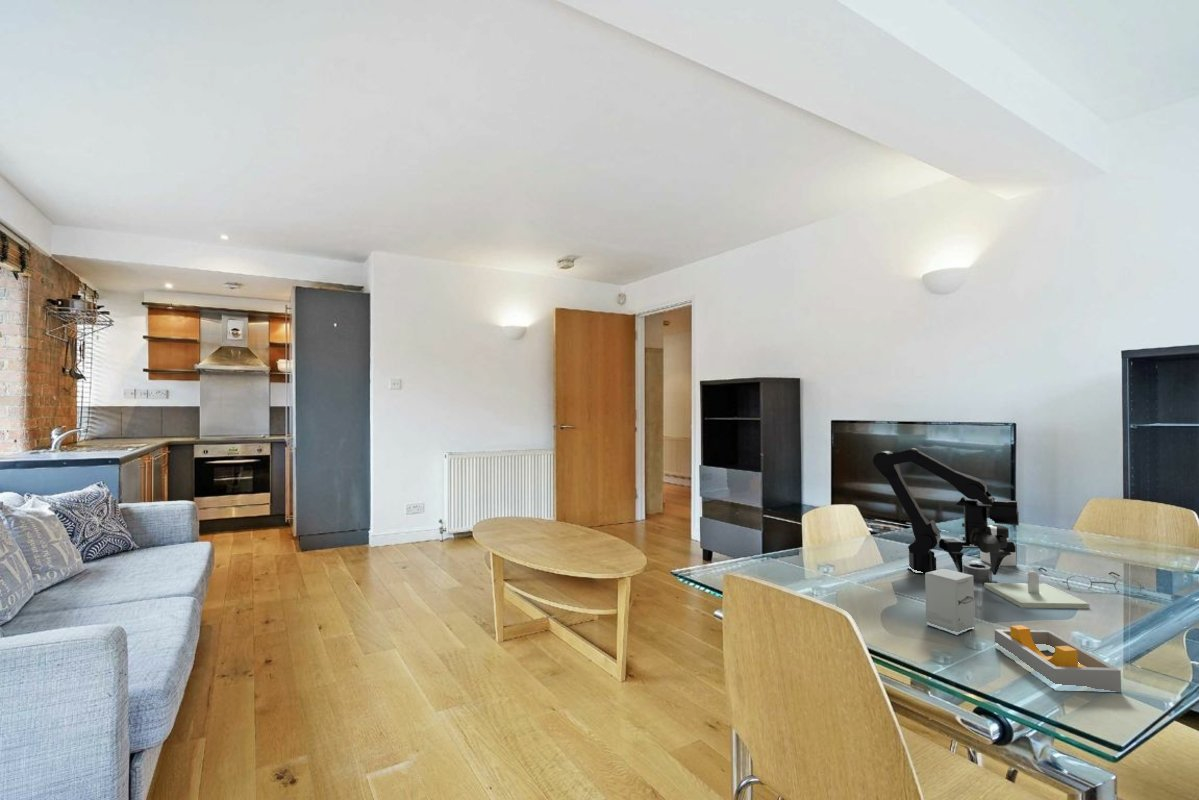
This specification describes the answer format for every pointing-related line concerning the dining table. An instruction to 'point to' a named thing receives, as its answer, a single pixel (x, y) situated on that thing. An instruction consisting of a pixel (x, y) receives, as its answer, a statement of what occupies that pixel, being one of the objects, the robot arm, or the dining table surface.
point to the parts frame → (1091, 675)
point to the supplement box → (950, 599)
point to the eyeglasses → (1098, 581)
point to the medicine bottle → (1009, 559)
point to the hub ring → (978, 572)
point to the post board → (1035, 594)
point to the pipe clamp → (1061, 657)
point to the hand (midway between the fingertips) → (977, 574)
